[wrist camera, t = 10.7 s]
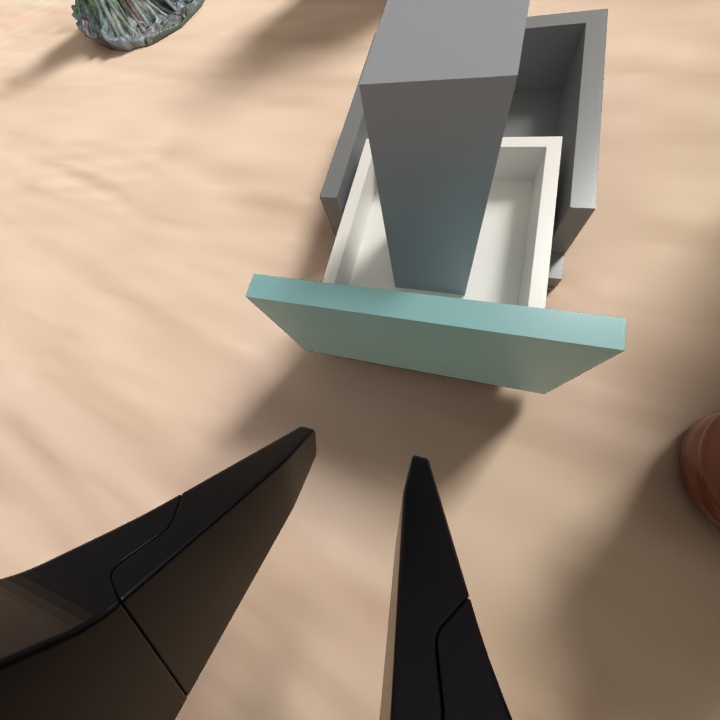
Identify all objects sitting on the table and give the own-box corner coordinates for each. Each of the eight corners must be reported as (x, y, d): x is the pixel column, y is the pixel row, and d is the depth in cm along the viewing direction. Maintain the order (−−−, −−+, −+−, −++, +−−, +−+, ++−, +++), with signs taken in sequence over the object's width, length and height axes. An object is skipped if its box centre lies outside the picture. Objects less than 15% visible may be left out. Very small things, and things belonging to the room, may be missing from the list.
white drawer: (543, 394, 18) (624, 350, 10) (305, 350, 21) (245, 296, 14) (563, 182, 21) (633, 42, 14) (358, 177, 25) (331, 66, 18)
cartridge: (478, 216, 21) (538, -60, 10) (464, 295, 20) (517, 75, 8) (412, 213, 22) (399, -37, 11) (395, 287, 21) (359, 84, 9)
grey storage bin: (555, 287, 21) (593, 236, 16) (333, 264, 25) (312, 219, 20) (574, 92, 25) (607, 8, 20) (383, 100, 29) (375, 32, 25)
